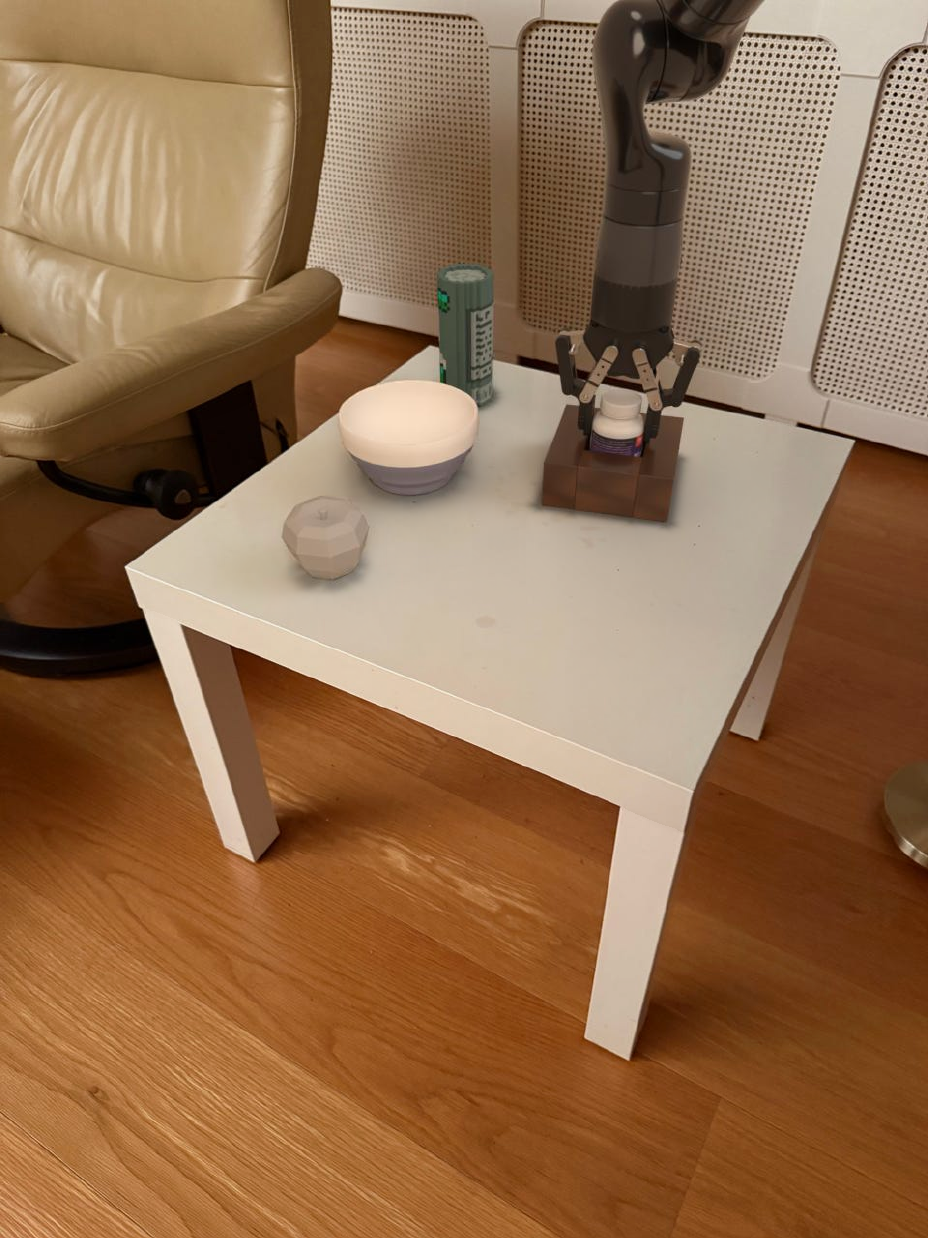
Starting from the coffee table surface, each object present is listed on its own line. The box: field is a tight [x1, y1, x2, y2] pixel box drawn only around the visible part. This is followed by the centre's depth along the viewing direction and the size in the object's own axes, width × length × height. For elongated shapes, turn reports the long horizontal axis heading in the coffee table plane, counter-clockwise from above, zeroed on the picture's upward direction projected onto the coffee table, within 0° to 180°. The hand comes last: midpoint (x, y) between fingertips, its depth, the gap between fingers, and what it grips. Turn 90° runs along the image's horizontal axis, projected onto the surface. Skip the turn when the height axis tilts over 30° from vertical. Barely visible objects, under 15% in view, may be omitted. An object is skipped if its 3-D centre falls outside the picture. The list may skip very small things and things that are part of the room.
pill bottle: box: [589, 388, 645, 457], centre depth 90 cm, size 5×5×10 cm
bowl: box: [337, 379, 480, 496], centre depth 92 cm, size 14×14×8 cm
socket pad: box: [541, 404, 685, 523], centre depth 92 cm, size 13×13×5 cm
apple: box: [281, 495, 370, 580], centre depth 80 cm, size 8×8×7 cm
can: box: [436, 263, 495, 408], centre depth 103 cm, size 6×6×15 cm
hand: (617, 435), depth 90 cm, fingers closed on pill bottle, 5 cm apart
